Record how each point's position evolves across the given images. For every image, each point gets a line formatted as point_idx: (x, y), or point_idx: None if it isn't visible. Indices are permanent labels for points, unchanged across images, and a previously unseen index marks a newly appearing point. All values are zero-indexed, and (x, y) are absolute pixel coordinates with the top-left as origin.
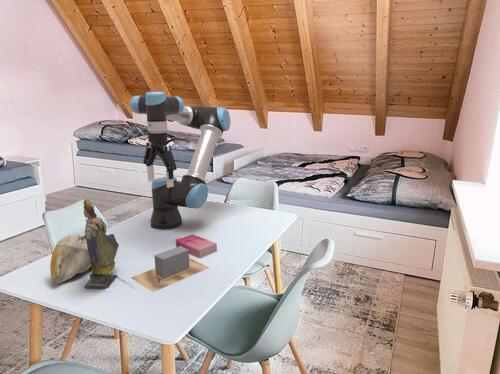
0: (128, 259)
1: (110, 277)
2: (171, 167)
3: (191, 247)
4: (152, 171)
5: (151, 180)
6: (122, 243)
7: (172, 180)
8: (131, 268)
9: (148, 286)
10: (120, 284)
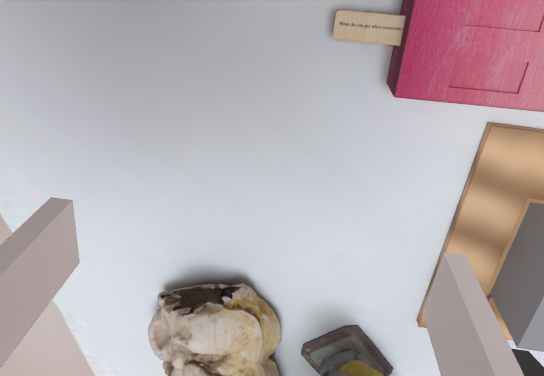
0: (289, 244)
1: (361, 348)
2: None
3: (520, 109)
4: (5, 297)
5: (71, 240)
6: (138, 170)
7: (486, 317)
8: (355, 277)
9: (509, 333)
10: (408, 345)
